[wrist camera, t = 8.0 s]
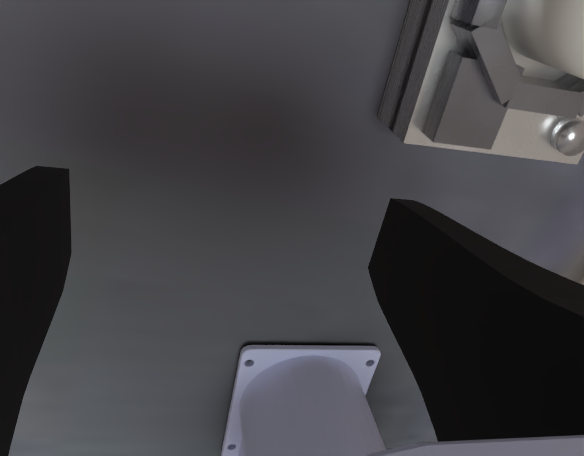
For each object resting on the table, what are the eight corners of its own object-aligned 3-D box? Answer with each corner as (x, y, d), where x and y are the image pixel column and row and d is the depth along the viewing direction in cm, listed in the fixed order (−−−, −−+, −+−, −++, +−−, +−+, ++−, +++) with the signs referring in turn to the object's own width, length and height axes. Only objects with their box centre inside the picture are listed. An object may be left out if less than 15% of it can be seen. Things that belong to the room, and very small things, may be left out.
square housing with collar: (534, 137, 24) (602, 180, 20) (377, 116, 21) (419, 159, 18) (649, -116, 19) (768, -124, 15) (460, -176, 17) (542, -201, 13)
